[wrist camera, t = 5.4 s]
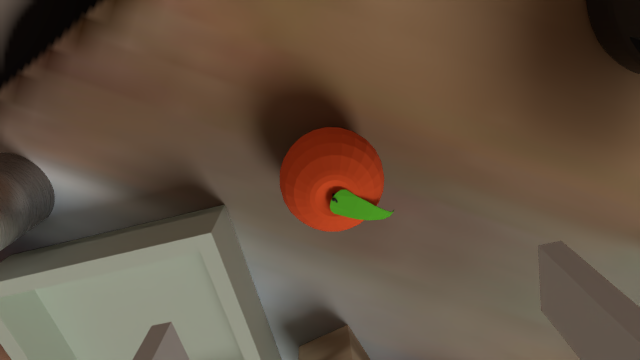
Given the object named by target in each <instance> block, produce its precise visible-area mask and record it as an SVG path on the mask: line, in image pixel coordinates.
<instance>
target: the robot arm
mask: <svg viewBox="0 0 640 360" xmlns="http://www.w3.org/2000/svg"><path fill="white" fill-rule="evenodd" d="M586 1H587V9H588V14H589V18H590V22H591V25H592V27H593V30H594V32H595V34H596V37H597V38H598V40H599V42H600V44H601V45H602V46H603V48H604V49H605V50H606V52H607V53H608V54H609V55H610V56H611V57H612V58H613V59H614V60H615V61H617V62H618V63H619V64H620V65H622V66H624V67H625V68H627V69H629V70H631V71H633V72H635V73H638V74H640V0H586ZM538 256H539V278H540V300H541V311H542V312H543V313H544V314H545V316H546V317H547V318H548V319H549V321H550V322H551V323H552V324H553V326H554V327H555V328H556V329H557V331H558V332H559V333H560V334H561V335H562V337H563V338H564V339H565V340H566V342H567V343H568V344H569V345H570V347H571V348H572V349H573V350H574V352H575V353H576V354H577V355H578V357H579V358H580V359H581V360H640V307H638V306H637V305H636V304H635V303H634V302H633V301H631V300H630V299H629V298H628V297H627V296H626V295H624V294H623V293H622V292H621V291H620V290H618V289H617V288H616V287H615V286H614V285H613V284H611V283H610V282H609V281H608V280H607V279H606V278H604V277H603V276H602V275H601V274H600V273H598V272H597V271H596V270H595V269H594V268H593V267H591V266H590V265H589V264H588V263H587V262H586V261H584V260H583V259H582V258H581V257H580V256H579V255H577V254H576V253H575V252H574V251H573V250H571V249H570V248H569V247H568V246H567V245H566V244H564V243H563V242H562V241H558V242H553V243H548V244H543V245H539V246H538ZM133 360H190V359H189V357H188V355H187V353H186V351H185V349H184V347H183V345H182V343H181V341H180V338H179V336H178V334H177V332H176V330H175V328H174V326H173V324H172V322H167V323H162V324H157V325H153V326H151V328H150V330H149V331H148V333H147V335H146V337H145V338H144V340H143V342H142V344H141V345H140V347H139V349H138V351H137V353H136V354H135V356H134V358H133Z"/></svg>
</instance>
